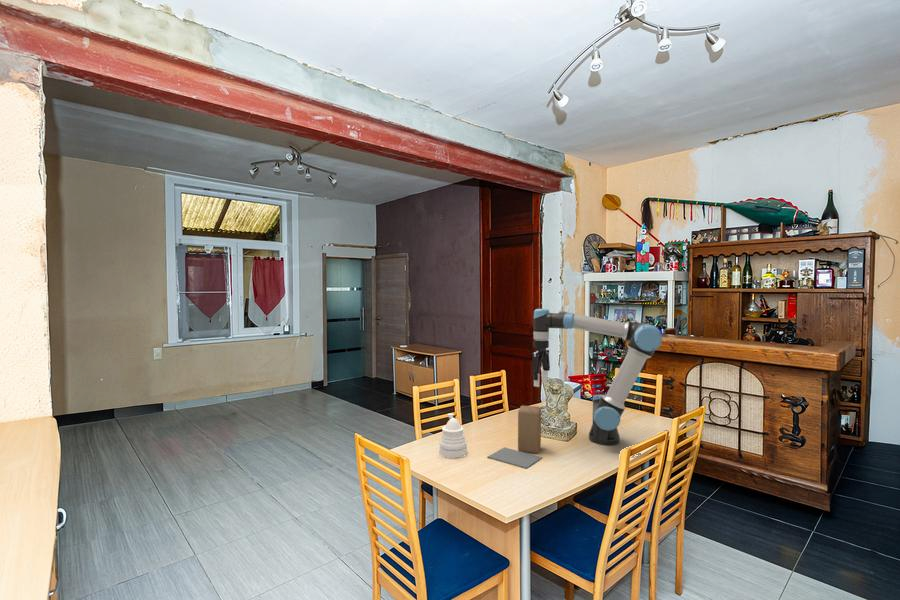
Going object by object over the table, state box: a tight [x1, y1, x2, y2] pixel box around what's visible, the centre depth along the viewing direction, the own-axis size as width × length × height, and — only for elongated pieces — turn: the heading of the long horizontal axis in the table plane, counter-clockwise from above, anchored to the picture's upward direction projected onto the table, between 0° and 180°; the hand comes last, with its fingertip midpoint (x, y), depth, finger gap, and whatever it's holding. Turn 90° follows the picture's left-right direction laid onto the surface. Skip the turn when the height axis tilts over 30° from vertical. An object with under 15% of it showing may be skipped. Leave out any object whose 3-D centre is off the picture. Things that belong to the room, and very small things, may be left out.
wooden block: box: [517, 405, 542, 454], centre depth 214 cm, size 10×10×20 cm
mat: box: [487, 447, 543, 470], centre depth 203 cm, size 20×15×1 cm
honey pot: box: [439, 413, 468, 459], centre depth 209 cm, size 13×13×18 cm
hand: (540, 384), depth 223 cm, fingers open, 8 cm apart
